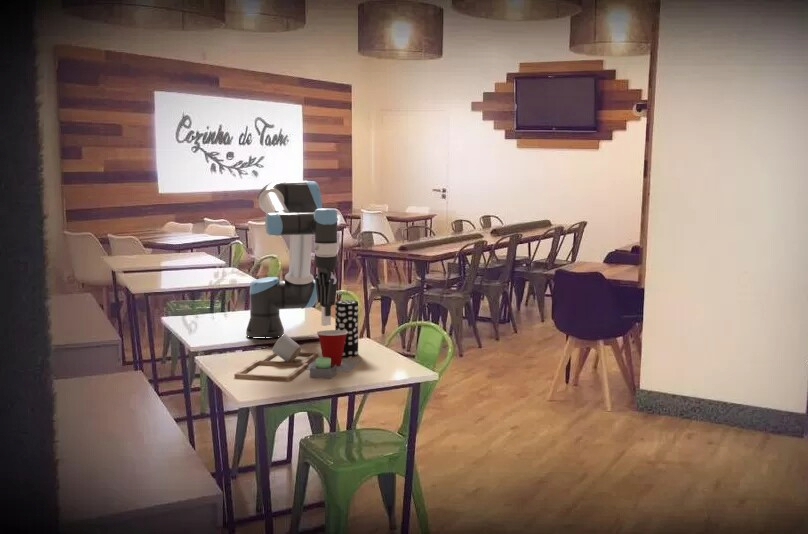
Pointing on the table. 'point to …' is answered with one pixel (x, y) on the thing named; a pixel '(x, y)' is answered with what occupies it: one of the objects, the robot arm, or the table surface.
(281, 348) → the ceramic mug
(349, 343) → the white-spotted black cylinder
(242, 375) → the wooden rectangular frame
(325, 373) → the button base
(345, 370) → the mat
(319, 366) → the button
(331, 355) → the plastic cup
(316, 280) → the robot arm
